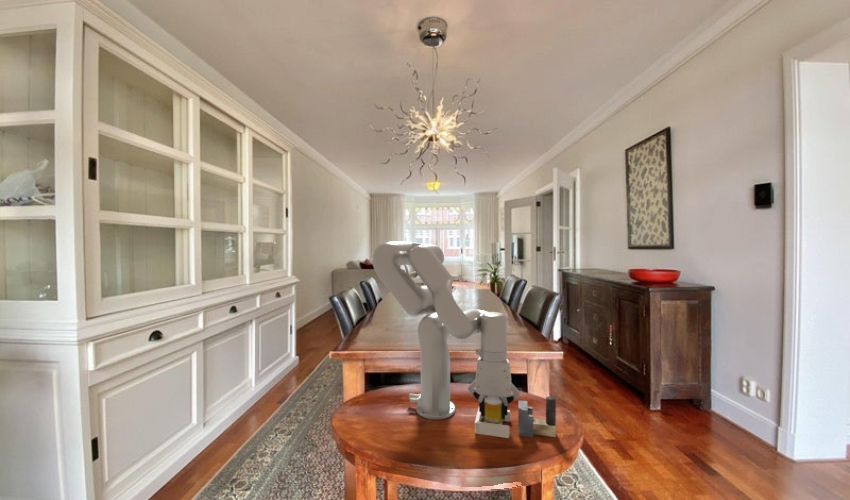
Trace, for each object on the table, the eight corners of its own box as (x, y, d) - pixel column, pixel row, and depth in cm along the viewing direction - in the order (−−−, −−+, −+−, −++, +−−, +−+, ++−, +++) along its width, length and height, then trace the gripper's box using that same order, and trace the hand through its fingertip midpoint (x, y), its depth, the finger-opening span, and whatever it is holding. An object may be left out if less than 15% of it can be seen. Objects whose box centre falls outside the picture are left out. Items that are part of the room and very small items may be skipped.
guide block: (518, 435, 95) (518, 409, 95) (518, 424, 100) (518, 400, 100) (533, 437, 94) (533, 411, 94) (532, 426, 99) (532, 401, 99)
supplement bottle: (502, 427, 96) (502, 394, 96) (483, 425, 97) (483, 392, 97) (502, 418, 102) (502, 386, 101) (484, 416, 103) (484, 384, 102)
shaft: (525, 433, 96) (525, 398, 95) (525, 427, 98) (525, 393, 98) (556, 437, 93) (556, 401, 93) (555, 431, 96) (555, 396, 96)
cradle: (474, 433, 96) (474, 422, 96) (478, 415, 106) (478, 406, 106) (509, 438, 93) (509, 427, 93) (510, 420, 103) (510, 410, 103)
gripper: (462, 356, 98) (462, 418, 98) (523, 362, 93) (523, 426, 94) (466, 348, 105) (466, 406, 105) (523, 353, 100) (523, 413, 101)
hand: (493, 415), depth 99 cm, fingers closed on supplement bottle, 5 cm apart
